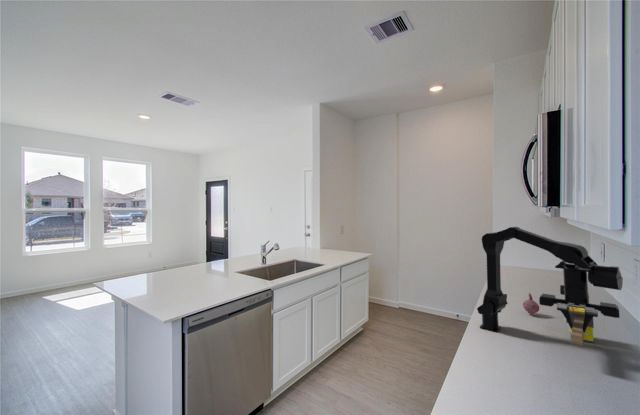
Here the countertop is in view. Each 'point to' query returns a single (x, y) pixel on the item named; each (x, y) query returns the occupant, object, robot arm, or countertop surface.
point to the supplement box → (589, 331)
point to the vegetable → (531, 305)
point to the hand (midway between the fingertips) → (578, 330)
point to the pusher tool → (578, 328)
